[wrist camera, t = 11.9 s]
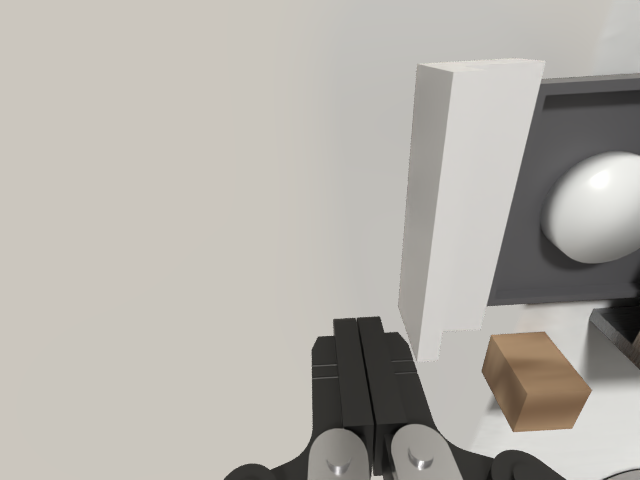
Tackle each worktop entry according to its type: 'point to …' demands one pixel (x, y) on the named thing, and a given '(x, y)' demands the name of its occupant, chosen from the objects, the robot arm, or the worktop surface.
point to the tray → (502, 190)
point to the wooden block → (533, 382)
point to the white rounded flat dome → (595, 208)
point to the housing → (620, 329)
